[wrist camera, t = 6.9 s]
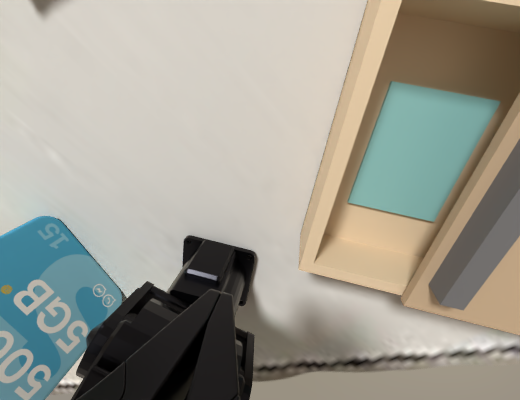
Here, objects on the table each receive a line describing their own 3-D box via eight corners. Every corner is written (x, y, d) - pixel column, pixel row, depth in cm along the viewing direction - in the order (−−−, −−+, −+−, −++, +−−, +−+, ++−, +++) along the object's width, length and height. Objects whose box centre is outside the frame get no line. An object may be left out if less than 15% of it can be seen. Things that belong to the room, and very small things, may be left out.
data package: (129, 298, 29) (21, 429, 18) (101, 307, 30) (-13, 433, 20) (52, 209, 25) (-140, 307, 14) (25, 224, 26) (-166, 323, 16)
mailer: (464, 272, 20) (502, 320, 16) (300, 233, 21) (298, 269, 17) (628, 34, 13) (768, 15, 9) (369, -7, 14) (393, -41, 10)
